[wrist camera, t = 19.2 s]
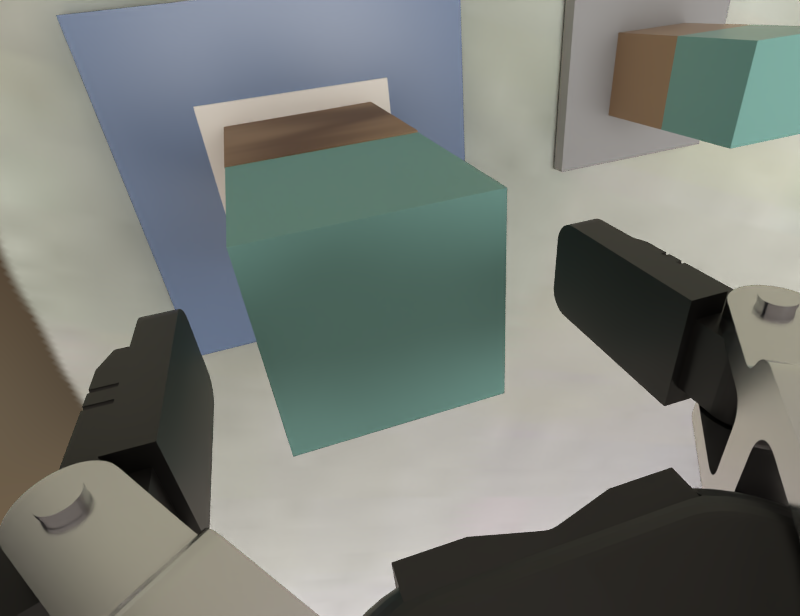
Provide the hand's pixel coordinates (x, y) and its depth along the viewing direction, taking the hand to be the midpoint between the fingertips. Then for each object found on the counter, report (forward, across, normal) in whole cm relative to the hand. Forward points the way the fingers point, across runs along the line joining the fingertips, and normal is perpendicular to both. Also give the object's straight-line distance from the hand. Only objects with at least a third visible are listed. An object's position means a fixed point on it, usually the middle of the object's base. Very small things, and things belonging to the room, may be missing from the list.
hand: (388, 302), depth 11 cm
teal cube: (+4, 0, 0) cm, 4 cm away
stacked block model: (+10, -14, -2) cm, 17 cm away
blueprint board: (+10, 0, 0) cm, 10 cm away
